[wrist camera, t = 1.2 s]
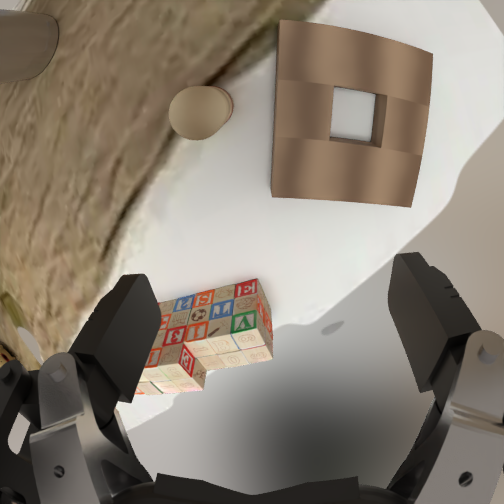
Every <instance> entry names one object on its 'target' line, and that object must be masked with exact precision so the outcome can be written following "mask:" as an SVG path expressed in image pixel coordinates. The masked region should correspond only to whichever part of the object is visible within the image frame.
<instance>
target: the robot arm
mask: <svg viewBox="0 0 504 504" xmlns="http://www.w3.org/2000/svg"><path fill="white" fill-rule="evenodd" d="M57 42H58V26H57V23H56V21H55V19H54V18H52V17H51V16H49V15H45V14H38V13H31V12H24V11H14V10H0V84H2V83H9V82H14V81H20V80H27V79H31V78H33V77H35V76H37V75H38V74H40V73H41V72H42V71H43V70H44V68H45V67H46V66H47V65H48V63H49V61H50V60H51V58H52V56H53V54H54V51H55V49H56V45H57ZM388 306H389V311H390V314H391V316H392V318H393V321H394V323H395V326H396V328H397V331H398V333H399V336H400V338H401V341H402V344H403V346H404V348H405V351H406V354H407V357H408V360H409V362H410V365H411V368H412V371H413V374H414V377H415V379H416V383H417V386H418V389H419V392H420V393H422V392H426V391H430V390H433V392H434V395H435V397H434V399H433V401H432V403H431V405H430V408H429V410H428V413H427V415H426V418H425V420H424V422H423V425H422V427H421V429H420V432H419V434H418V436H417V438H416V440H415V442H414V444H413V446H412V448H411V450H410V452H409V454H408V455H407V457H406V459H405V460H404V461H403V463H402V464H401V465H400V467H399V468H398V470H397V471H396V473H395V475H394V476H393V478H392V479H391V481H390V483H389V484H388V486H387V488H386V489H383V488H380V487H376V486H370V485H362V484H358V476H356V477H351V478H344V479H337V480H329V481H319V482H307V483H304V484H300V485H296V486H293V487H289V488H285V489H281V490H277V491H273V492H268V493H263V494H258V495H248V494H244V493H240V492H237V491H233V490H230V489H227V488H224V487H220V486H217V485H214V484H211V483H208V482H206V481H203V480H197V479H189V478H183V477H176V476H171V475H165V474H160V473H157V477H156V481H155V482H154V481H153V479H152V478H151V476H150V474H149V473H148V472H147V470H146V469H145V468H144V467H143V465H142V464H141V463H140V462H139V460H138V459H137V457H136V455H135V453H134V450H133V448H132V446H131V443H130V441H129V438H128V436H127V433H126V430H125V428H124V425H123V423H122V420H121V417H120V414H119V412H118V410H117V409H116V408H115V407H116V404H117V402H118V401H121V402H126V403H132V400H133V397H134V394H135V391H136V389H137V386H138V383H139V380H140V378H141V375H142V372H143V370H144V367H145V364H146V362H147V359H148V357H149V354H150V351H151V349H152V346H153V344H154V341H155V339H156V336H157V334H158V331H159V329H160V326H161V319H162V318H161V310H160V307H159V305H158V303H157V300H156V298H155V295H154V293H153V290H152V288H151V285H150V283H149V280H148V278H147V276H146V275H145V274H130V275H123V276H121V278H120V279H119V281H118V282H117V284H116V285H115V287H114V288H113V290H111V291H110V292H109V293H108V294H106V295H105V296H104V297H103V298H102V299H101V300H100V301H99V303H98V304H97V306H96V307H95V309H94V312H92V314H91V315H90V317H89V318H88V319H89V320H88V321H87V322H86V323H85V325H84V326H83V328H82V330H81V331H80V333H79V334H78V336H77V338H76V339H75V341H74V343H73V344H72V346H71V348H70V350H69V351H68V353H66V352H61V353H57V354H54V355H53V356H51V357H49V358H48V359H47V360H46V361H45V362H44V363H43V365H42V366H41V368H40V370H33V371H27V370H26V369H25V368H24V366H23V365H22V364H21V363H20V362H19V361H18V360H10V361H8V362H6V363H5V364H4V365H2V366H1V367H0V504H489V503H490V501H491V498H492V496H493V494H494V491H495V488H496V485H497V482H498V480H499V476H500V473H501V470H502V467H503V472H504V339H503V338H502V337H501V336H500V335H498V334H496V333H495V332H492V331H488V330H482V329H481V328H480V326H479V324H478V323H477V321H476V319H475V318H474V316H473V315H472V313H471V312H470V310H469V308H468V307H467V305H466V304H465V302H464V301H463V300H462V298H461V297H459V293H458V292H457V290H456V289H455V288H453V285H452V283H451V282H450V280H449V279H448V278H447V276H446V275H445V274H444V273H442V272H441V271H440V270H438V269H437V268H435V267H434V266H429V265H428V264H427V262H426V261H425V259H424V258H423V257H422V255H421V254H420V253H419V252H413V253H403V254H396V255H395V257H394V261H393V267H392V274H391V280H390V286H389V291H388ZM18 412H19V413H20V414H21V415H23V416H24V417H25V418H26V419H27V420H28V421H29V422H30V426H29V429H28V431H27V434H26V436H25V439H24V441H23V444H22V447H21V450H20V452H19V453H18V454H17V455H16V454H15V453H13V452H12V451H11V450H10V448H9V445H8V436H9V434H10V431H11V429H12V426H13V424H14V422H15V419H16V417H17V415H18Z"/></svg>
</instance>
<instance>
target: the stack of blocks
mask: <svg viewBox="0 0 504 504" xmlns="http://www.w3.org/2000/svg"><path fill="white" fill-rule="evenodd" d="M158 305H159V307H160V310H161V318H162V319H161V326H160V329H159V331H158V334H157V336H156V339H155V341H154V344H153V346H152V349H151V351H150V354H149V357H148V359H147V362H146V364H145V367H144V370H143V372H142V375H141V378H140V380H139V383H138V386H137V389H136V391H135V394H146V395H159V394H163V393H165V394H169V393H181V392H190V391H198V390H204V383H205V377H206V372H207V371H209V370H216V369H222V368H230V367H236V366H242V365H248V364H252V363H257V362H263V361H267V360H272V359H273V342H272V340H273V334H272V319H271V309H270V307H269V304H268V302H267V300H266V297H265V295H264V292H263V290H262V287H261V285H260V283H259V281H258V279H254V280H250V281H247V282H243V283H240V284H237V285H235V284H233V285H229V286H225V287H221V288H218V289H214V290H209V291H205V292H201V293H197V294H194V295H190V296H186V297H182V298H178V299H174V300H170V301H166V302H162V303H158Z"/></svg>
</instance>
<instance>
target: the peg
mask: <svg viewBox="0 0 504 504" xmlns="http://www.w3.org/2000/svg"><path fill="white" fill-rule="evenodd" d="M233 107H234V105H233V100H232V98H231V96H230V94H229V93H228V92H227V91H225V90H224V89H222V88H219V87H215V86H192V87H188V88H186V89H184V90H182V91H181V92H179V93H178V94H177V95H176V96H175V97H174V99H173V100H172V102H171V105H170V108H169V120H170V123H171V125H172V127H173V129H174V130H175V131H176V132H177V133H178V134H179V135H180V136H182V137H184V138H186V139H189V140H203V139H206V138H208V137H210V136H212V135H214V134H215V133H216V132H217V131H218V130H219V129H220V128H221V127H222V125H223V124H225V123H226V122H227V121H228V120H229V118H230V117H231V115H232V112H233Z"/></svg>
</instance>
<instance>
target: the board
mask: <svg viewBox="0 0 504 504" xmlns="http://www.w3.org/2000/svg"><path fill="white" fill-rule="evenodd" d="M432 65H433V54H432V53H430V52H427V51H424V50H422V49H419V48H416V47H413V46H410V45H407V44H404V43H401V42H398V41H395V40H391V39H388V38H384V37H380V36H377V35H373V34H369V33H365V32H360V31H356V30H351V29H346V28H341V27H336V26H330V25H324V24H317V23H309V22H301V21H291V20H280V21H279V24H278V28H277V58H276V84H275V108H274V130H273V150H272V170H271V194H272V197H278V198H299V199H317V200H332V201H346V202H358V203H370V204H381V205H391V206H401V207H410V208H411V205H412V201H413V197H414V193H415V189H416V184H417V179H418V175H419V170H420V165H421V159H422V154H423V148H424V142H425V136H426V129H427V122H428V114H429V105H430V95H431V83H432ZM334 87H340V88H346V89H352V90H358V91H363V92H368V93H373V94H376V99H375V110H374V119H373V128H372V136H371V142H366V141H359V140H352V139H344V138H336V137H330V128H331V116H332V104H333V90H334Z"/></svg>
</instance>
